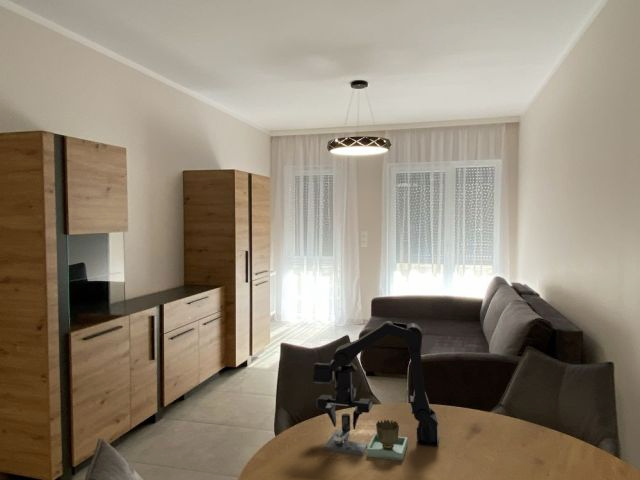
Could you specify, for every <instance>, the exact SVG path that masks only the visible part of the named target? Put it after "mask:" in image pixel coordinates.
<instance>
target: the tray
mask: <svg viewBox="0 0 640 480" xmlns="http://www.w3.org/2000/svg"><path fill="white" fill-rule="evenodd" d="M408 444H409V442H408V437H406V436H399V435H398V439H397V442H396V443H395V444H394V447H393V449H391V450H385V449H384V448H383V447H382V444H381V443H380V441H379V439H378V435H377V433H374V434H373V436H372V438H371V440H370V442H369V444H367V448H366V457H369V458H376V459H377V458H378V459H383V460H384V459H385V460H390V461H397V462H399V461H400V462H403V459H404V457H405V453H406V451H407V448H408Z"/></svg>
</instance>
